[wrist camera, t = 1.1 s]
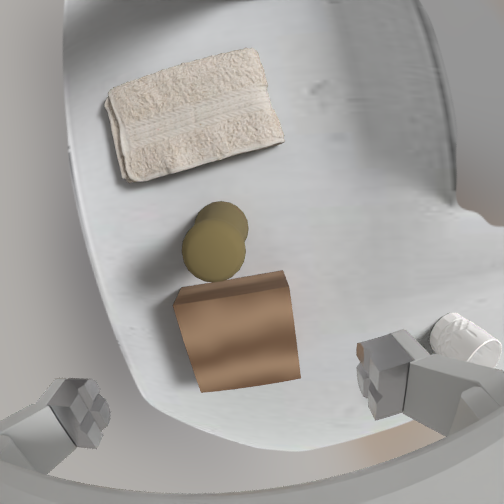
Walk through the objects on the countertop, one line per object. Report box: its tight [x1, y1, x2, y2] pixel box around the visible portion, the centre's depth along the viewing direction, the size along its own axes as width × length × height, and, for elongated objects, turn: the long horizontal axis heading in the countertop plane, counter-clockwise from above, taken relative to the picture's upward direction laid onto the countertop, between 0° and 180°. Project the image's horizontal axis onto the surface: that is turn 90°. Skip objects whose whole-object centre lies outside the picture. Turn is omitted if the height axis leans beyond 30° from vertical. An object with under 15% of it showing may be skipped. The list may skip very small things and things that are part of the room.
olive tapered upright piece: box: [182, 201, 248, 283], centre depth 29 cm, size 6×6×11 cm
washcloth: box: [104, 48, 285, 183], centre depth 30 cm, size 12×18×3 cm, turn 105°
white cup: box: [429, 313, 502, 368], centre depth 34 cm, size 8×8×10 cm
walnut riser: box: [173, 270, 301, 393], centre depth 35 cm, size 12×12×5 cm
